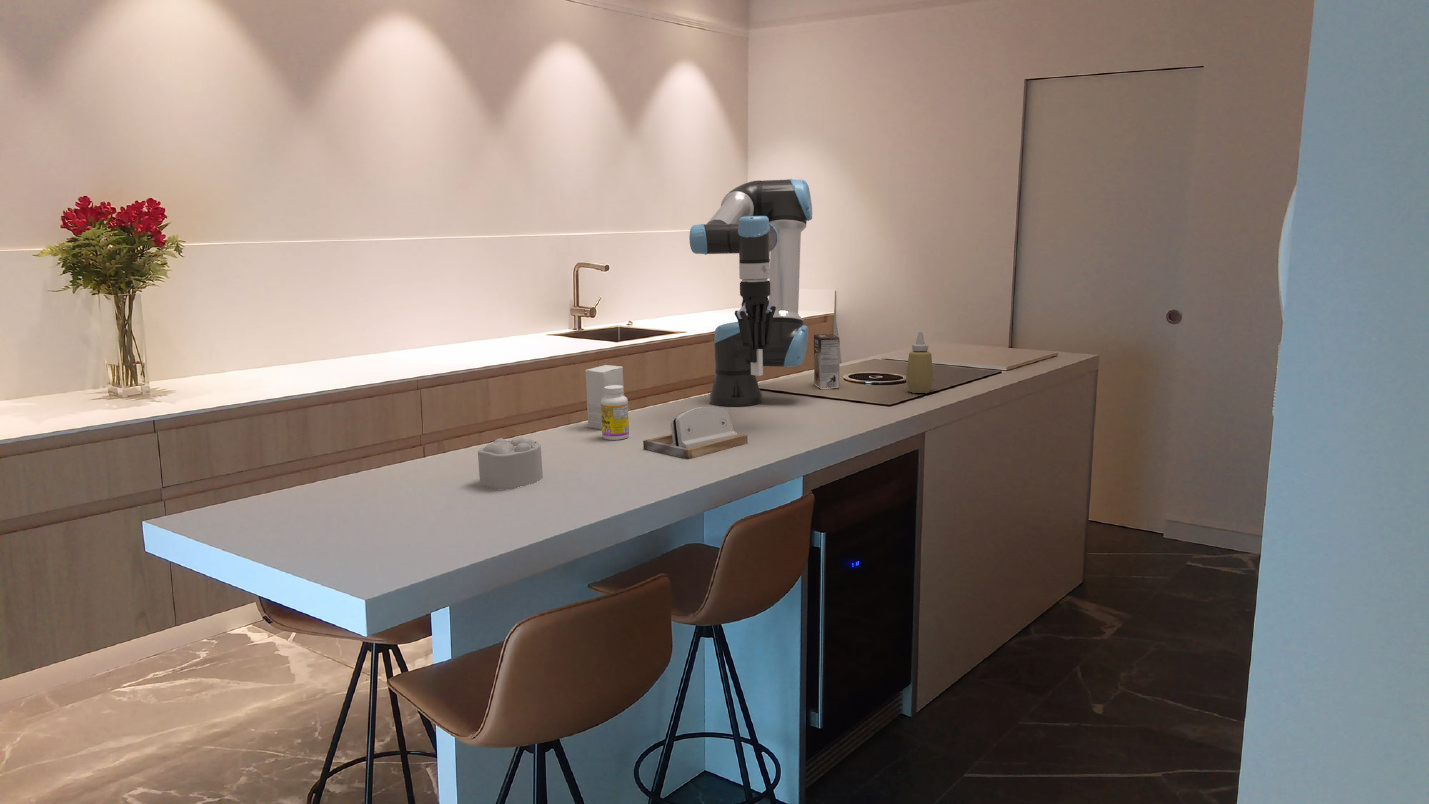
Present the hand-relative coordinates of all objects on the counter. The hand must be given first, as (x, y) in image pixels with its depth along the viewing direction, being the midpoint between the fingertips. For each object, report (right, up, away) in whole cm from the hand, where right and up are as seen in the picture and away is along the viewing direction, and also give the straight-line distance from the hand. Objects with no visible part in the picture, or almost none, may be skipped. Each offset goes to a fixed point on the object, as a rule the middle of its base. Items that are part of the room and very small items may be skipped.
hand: (756, 374), depth 240 cm
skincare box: (-39, -13, +11) cm, 42 cm away
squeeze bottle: (+51, -4, +47) cm, 69 cm away
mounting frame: (-15, -17, -13) cm, 26 cm away
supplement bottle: (-35, -16, -2) cm, 39 cm away
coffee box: (+24, -2, +60) cm, 65 cm away
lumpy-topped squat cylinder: (-52, -24, -39) cm, 69 cm away
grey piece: (-13, -17, -11) cm, 24 cm away
